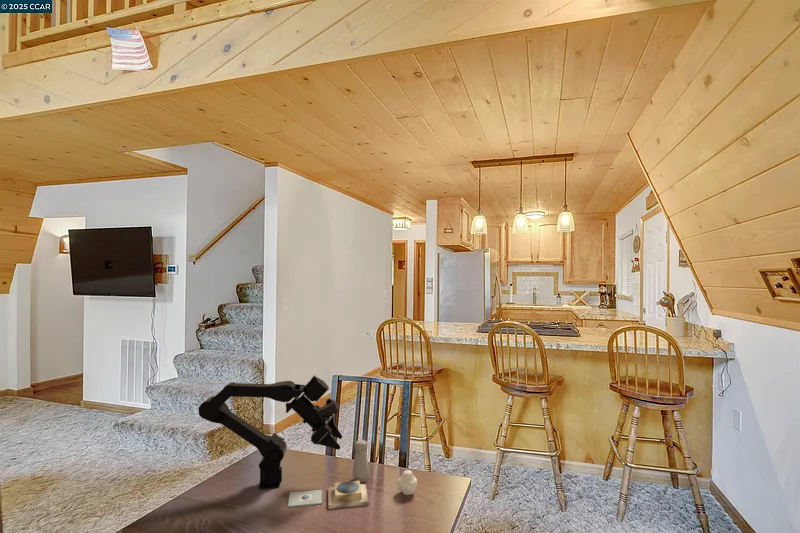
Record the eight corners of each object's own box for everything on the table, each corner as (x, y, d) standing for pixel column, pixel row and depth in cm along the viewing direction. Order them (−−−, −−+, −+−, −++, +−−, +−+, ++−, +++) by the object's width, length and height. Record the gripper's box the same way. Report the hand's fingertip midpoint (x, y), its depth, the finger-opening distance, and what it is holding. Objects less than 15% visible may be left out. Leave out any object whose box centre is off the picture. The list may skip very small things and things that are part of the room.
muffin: (414, 486, 138) (414, 465, 138) (419, 496, 132) (419, 473, 132) (396, 489, 136) (396, 467, 136) (400, 498, 130) (400, 475, 130)
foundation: (328, 508, 125) (328, 498, 125) (328, 490, 135) (328, 480, 136) (368, 504, 127) (368, 494, 127) (365, 487, 138) (365, 477, 138)
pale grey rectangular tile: (287, 507, 125) (287, 505, 125) (289, 493, 133) (289, 492, 133) (321, 504, 127) (321, 502, 127) (321, 491, 135) (321, 489, 135)
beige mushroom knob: (366, 485, 139) (366, 445, 139) (350, 483, 140) (350, 444, 140) (371, 476, 145) (371, 438, 145) (355, 475, 146) (355, 437, 146)
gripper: (321, 401, 133) (356, 435, 133) (327, 386, 152) (358, 416, 152) (296, 427, 132) (331, 461, 133) (305, 409, 151) (336, 439, 151)
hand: (340, 442), depth 142 cm, fingers open, 9 cm apart
